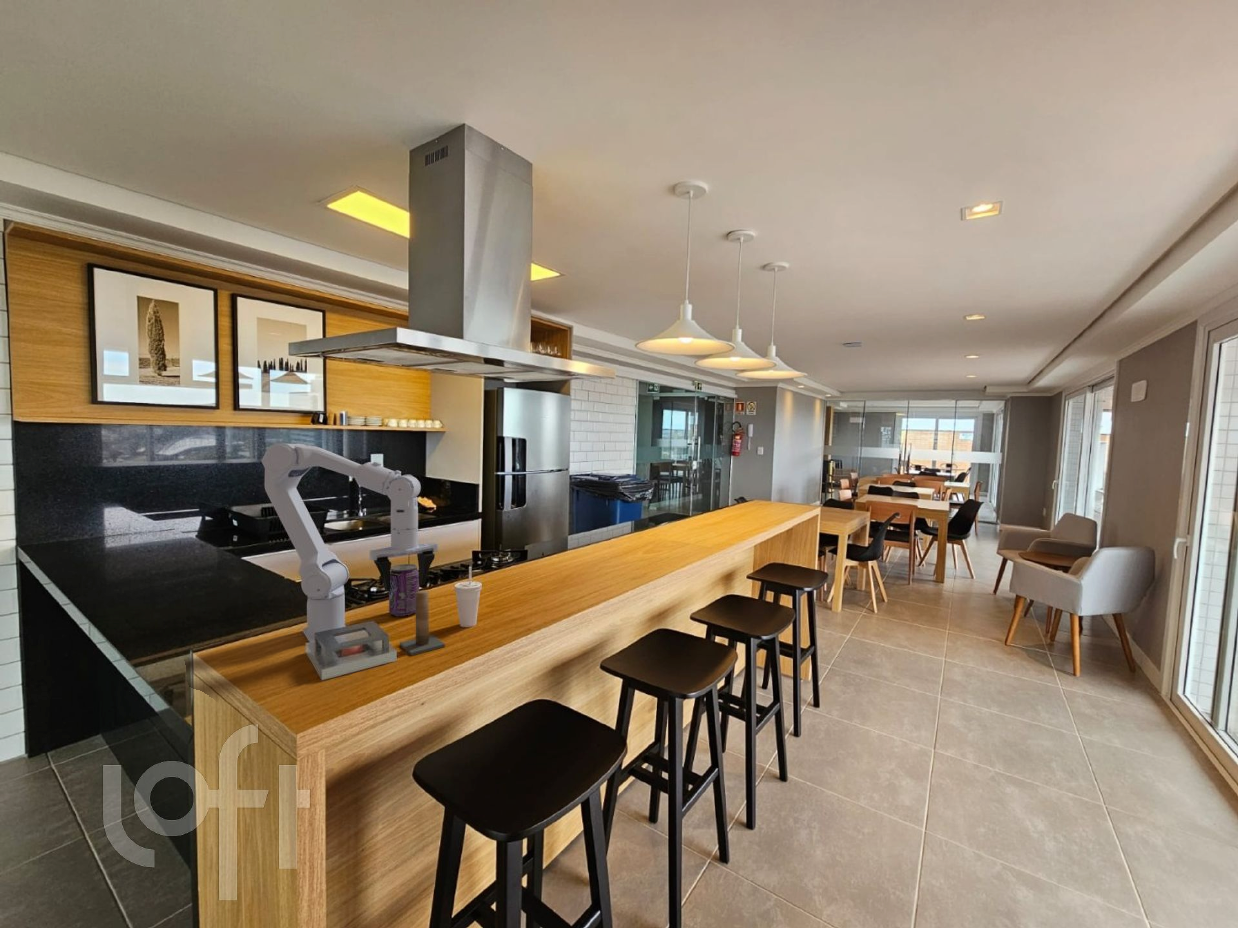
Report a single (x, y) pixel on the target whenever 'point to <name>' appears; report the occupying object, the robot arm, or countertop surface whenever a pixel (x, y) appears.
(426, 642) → the walnut dowel
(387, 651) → the box
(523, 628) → the countertop surface
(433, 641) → the rubber pad
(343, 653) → the breaker plunger
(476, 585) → the smoothie
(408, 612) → the beverage can
